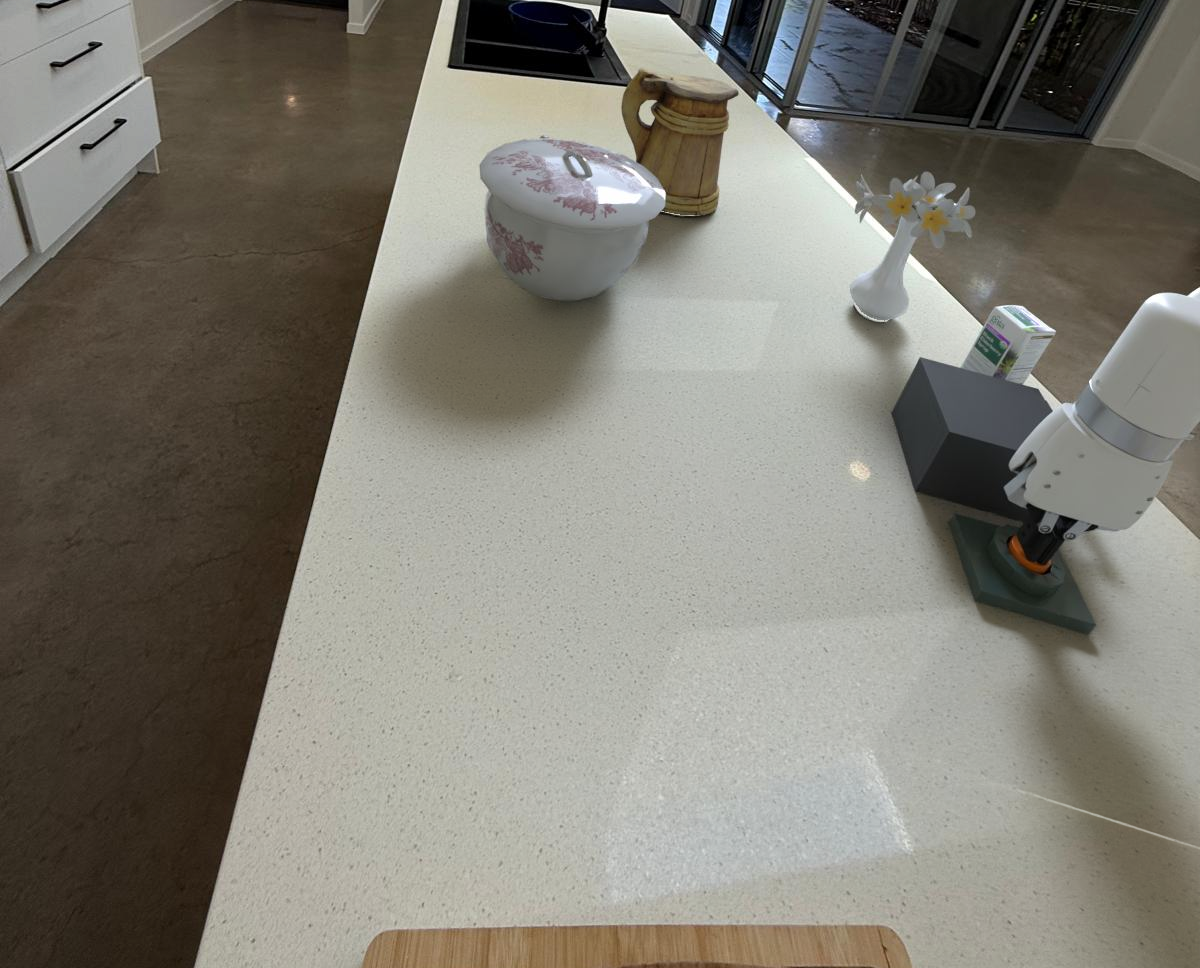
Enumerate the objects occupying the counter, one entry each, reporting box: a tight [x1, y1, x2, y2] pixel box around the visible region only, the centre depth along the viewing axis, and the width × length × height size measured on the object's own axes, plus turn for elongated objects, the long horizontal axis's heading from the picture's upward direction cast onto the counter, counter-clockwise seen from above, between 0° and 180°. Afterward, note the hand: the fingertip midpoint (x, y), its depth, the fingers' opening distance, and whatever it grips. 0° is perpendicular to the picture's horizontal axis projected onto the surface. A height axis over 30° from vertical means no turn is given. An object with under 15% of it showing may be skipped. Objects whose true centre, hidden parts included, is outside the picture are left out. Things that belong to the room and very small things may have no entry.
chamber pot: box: [478, 134, 666, 302], centre depth 98 cm, size 28×28×21 cm
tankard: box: [621, 68, 740, 216], centre depth 128 cm, size 18×24×25 cm
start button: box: [1007, 535, 1051, 575], centre depth 67 cm, size 4×4×2 cm
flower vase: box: [849, 171, 976, 321], centre depth 104 cm, size 13×18×25 cm
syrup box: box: [959, 304, 1057, 385], centre depth 91 cm, size 6×6×14 cm
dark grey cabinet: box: [890, 356, 1053, 524], centre depth 79 cm, size 15×13×10 cm
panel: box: [947, 512, 1097, 636], centre depth 68 cm, size 11×9×4 cm
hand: (1029, 549), depth 67 cm, fingers closed
